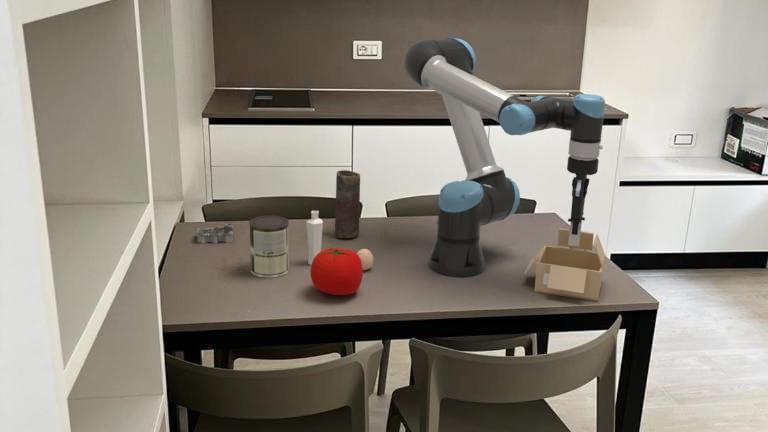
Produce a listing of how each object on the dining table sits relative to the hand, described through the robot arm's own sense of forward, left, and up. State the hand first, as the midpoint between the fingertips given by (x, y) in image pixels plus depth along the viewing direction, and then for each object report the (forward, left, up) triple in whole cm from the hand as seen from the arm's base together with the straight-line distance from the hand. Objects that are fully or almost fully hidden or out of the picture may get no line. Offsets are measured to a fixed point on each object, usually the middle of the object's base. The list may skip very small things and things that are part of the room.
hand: (573, 244), depth 207 cm
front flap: (0, -8, -3) cm, 9 cm away
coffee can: (-77, -22, -12) cm, 81 cm away
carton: (0, -1, -11) cm, 11 cm away
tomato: (-55, -28, -12) cm, 63 cm away
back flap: (0, +6, -3) cm, 7 cm away
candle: (-68, +12, -12) cm, 70 cm away
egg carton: (-103, -6, -12) cm, 104 cm away
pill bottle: (0, +19, -12) cm, 22 cm away
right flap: (+8, -1, -3) cm, 9 cm away
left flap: (-8, -1, -3) cm, 9 cm away
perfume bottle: (-68, -12, -12) cm, 70 cm away
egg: (-54, -11, -12) cm, 56 cm away
